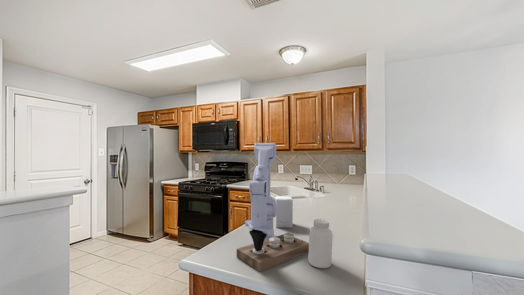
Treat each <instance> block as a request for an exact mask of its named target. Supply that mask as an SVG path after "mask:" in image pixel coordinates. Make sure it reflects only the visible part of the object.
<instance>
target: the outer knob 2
mask: <svg viewBox="0 0 524 295" xmlns="http://www.w3.org/2000/svg"><path fill="white" fill-rule="evenodd" d="M283 234H284V235H283ZM283 234H282V235H283V237H284V243H287V244H292V243H294V237H295V234H294V233H291V232H286V233H283Z"/></svg>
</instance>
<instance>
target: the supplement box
mask: <svg viewBox="0 0 524 295" xmlns="http://www.w3.org/2000/svg"><path fill="white" fill-rule="evenodd" d="M274 199H275V201H276V216H275V217H274V218H275V219H274V223H275V227H276V228H279V229H280V228H283V229H284V228H286V229H287V228H289V229H292V228H293V223H294V222H293V217H294V216H293V212H294V208H293V206H294V204H293V203H294V202H293V198H292V196H280V195H279V196H275V198H274Z"/></svg>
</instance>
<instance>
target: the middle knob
mask: <svg viewBox="0 0 524 295" xmlns="http://www.w3.org/2000/svg"><path fill="white" fill-rule="evenodd" d="M269 247H270V248H272V249H274V250H275V249H278V248H280V239H279V238H276V237H273V238H269Z"/></svg>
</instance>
